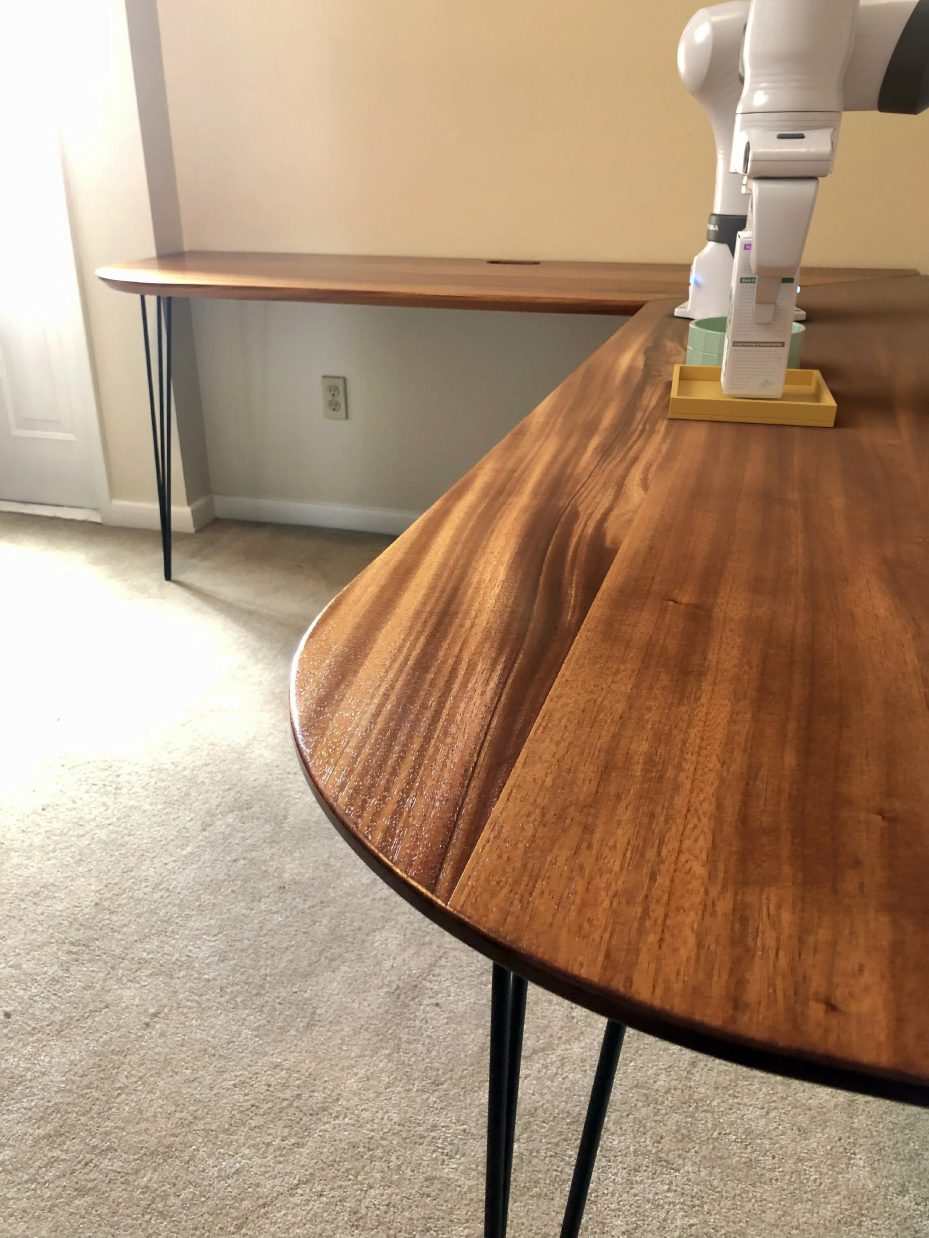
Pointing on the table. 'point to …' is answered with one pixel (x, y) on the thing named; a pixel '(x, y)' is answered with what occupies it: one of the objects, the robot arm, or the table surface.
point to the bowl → (710, 342)
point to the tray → (751, 399)
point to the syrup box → (756, 333)
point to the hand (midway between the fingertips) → (759, 315)
